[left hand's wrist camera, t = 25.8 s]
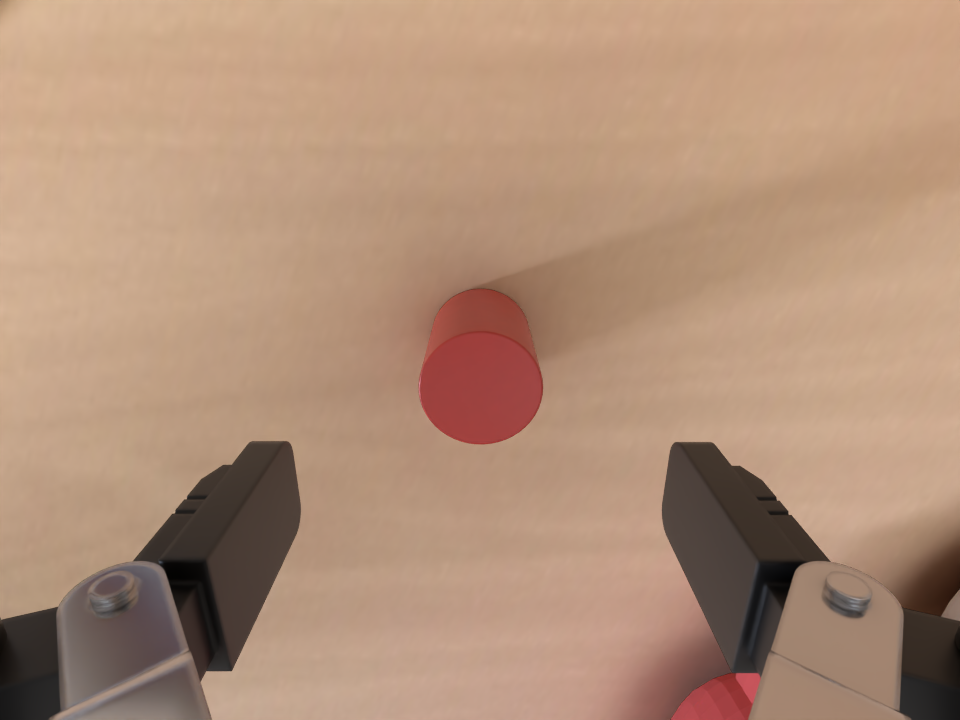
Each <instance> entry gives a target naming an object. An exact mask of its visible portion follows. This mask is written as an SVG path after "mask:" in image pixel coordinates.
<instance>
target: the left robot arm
mask: <svg viewBox="0 0 960 720" xmlns="http://www.w3.org/2000/svg"><path fill="white" fill-rule="evenodd" d="M175 511H176V512H175V514H172V515H171V516H170V517H169V519H168V520H167V521H166V522H165V523H164V525H163V526H162V527H161V528H160V529H159V531H158V532H157V533H156V534H155V535H154V537H153V538H152V539H151V540H150V541H149V543H148V544H147V545H146V546H145V547H144V549H143V550H142V551H141V552H140V553H139V555H138V556H137V557H136V558H135V559H134V561H133V562H126V563H122V564H118V565H115V566H112V567H109V568H106V569H104V570H101V571H99V572H97V573H95V574H93V575H91V576H90V577H88V578H86V579H85V580H83V581H82V582H80V583H79V584H78V585H76V586H75V587H74V588H73V589H72V590H71V591H70V592H69V593H68V594H67V595H66V596H65V597H64V598H63V600H62V601H61V603H60V605H59V607H56V608H51V609H47V610H42V611H38V612H34V613H29V614H25V615H20V616H16V617H12V618H7V619H3V620H1V618H0V720H212V718H211V715H210V712H209V708H208V705H207V702H206V699H205V695H204V692H203V689H202V686H201V680H202V678H203V676H204V674H205V672H206V671H232V670H233V668H234V665H235V663H236V661H237V659H238V657H239V655H240V653H241V651H242V648H243V646H244V644H245V642H246V640H247V638H248V636H249V634H250V631H251V629H252V627H253V625H254V623H255V621H256V619H257V617H258V615H259V612H260V610H261V608H262V606H263V604H264V602H265V600H266V598H267V595H268V593H269V591H270V589H271V587H272V585H273V583H274V581H275V579H276V576H277V574H278V572H279V570H280V568H281V566H282V564H283V562H284V559H285V557H286V555H287V553H288V551H289V549H290V547H291V545H292V542H293V540H294V538H295V536H296V534H297V531H298V528H299V523H300V515H301V504H300V496H299V489H298V483H297V476H296V469H295V462H294V455H293V450H292V446H291V444H290V443H289V442H288V441H252V442H250V443H249V444H248V445H247V446H246V447H245V449H244V450H243V451H242V452H241V454H240V455H239V456H238V458H237V459H236V460H235V461H234V463H233V464H232V465H223V466H221V467H219V468H218V469H216V470H215V471H213V472H212V473H210V474H209V475H207V476H206V477H204V478H203V479H201V480H200V481H199V483H198V484H197V485H196V486H195V487H194V489H193V490H192V491H191V492H190V493H189V495H188V496H187V500H184V501H183V502H182V503H181V504H180V505H179V507H178V508H177V509H176V510H175ZM662 519H663V525H664V530H665V533H666V535H667V538H668V540H669V542H670V544H671V546H672V548H673V550H674V552H675V554H676V557H677V559H678V561H679V563H680V565H681V567H682V569H683V571H684V573H685V575H686V577H687V580H688V582H689V584H690V586H691V588H692V590H693V592H694V594H695V596H696V598H697V600H698V603H699V605H700V607H701V609H702V611H703V613H704V615H705V617H706V619H707V621H708V624H709V626H710V628H711V630H712V632H713V634H714V636H715V638H716V640H717V642H718V644H719V647H720V649H721V651H722V653H723V655H724V657H725V659H726V661H727V663H728V665H729V667H730V670H731V672H732V673H758V674H759V676H760V678H761V679H760V682H759V686H758V689H757V692H756V695H755V699H754V702H753V705H752V708H751V712H750V715H749V718H748V720H960V621H958V620H953V619H949V618H945V617H940V616H936V615H931V614H927V613H923V612H918V611H914V610H909V609H906V608H902V607H901V605H900V603H899V601H898V600H897V598H896V597H895V596H894V595H893V594H892V593H891V592H890V591H889V590H888V589H887V588H886V587H885V586H884V585H882V584H881V583H880V582H878V581H877V580H875V579H874V578H872V577H870V576H869V575H867V574H865V573H863V572H861V571H859V570H856V569H854V568H851V567H848V566H845V565H842V564H838V563H834V562H830V560H829V559H828V558H827V557H826V556H825V554H824V553H823V552H822V551H821V550H820V549H819V547H818V546H817V545H816V544H815V543H814V541H813V540H812V539H811V538H810V537H809V535H808V534H807V533H806V532H805V531H804V530H803V528H802V527H801V526H800V525H799V524H798V522H797V521H796V520H795V519H794V518H793V516H792V515H789V514H788V510H787V509H786V508H785V507H784V506H783V505H782V503H781V502H780V501H777V499H776V496H775V495H774V494H773V493H772V491H771V490H770V489H769V488H768V487H767V486H766V484H765V483H764V482H763V481H762V480H761V479H759V478H758V477H756V476H755V475H753V474H752V473H750V472H748V471H747V470H745V469H744V468H742V467H741V466H731V465H730V463H729V462H728V461H727V459H726V458H725V457H724V456H723V454H722V453H721V452H720V450H719V449H718V448H717V447H716V445H715V444H714V443H712V442H675V443H674V444H673V445H672V447H671V450H670V455H669V462H668V468H667V475H666V482H665V489H664V496H663V502H662Z"/></svg>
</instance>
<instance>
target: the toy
mask: <svg viewBox="0 0 960 720" xmlns="http://www.w3.org/2000/svg"><path fill="white" fill-rule="evenodd" d="M941 617H945V618H949V619H953V620H958V621H960V589H959V591H958V592H957V593H956V594H955V595H954V597H953V598H952V599H951V600H950V602H949V603H948V605H947V607H946V609H945V610H944V612H943V614H942V616H941ZM760 679H761V678H760V676H759V674H758V673H730V674H726V675H723V676H720V677H717V678H713V679H712V680H710V681H708V682H707V683H705V684H703V685H702V686H700V687H698V688H697V689H695V690H693V691H692V692H691V693H690V695H689V696H688V697H687V698H686V699H685V700H684V701H683V702H682V703H681V704H680V706H679V707H678V709H677V711H676V712H675V714H674V715H673V717H672V718H671V720H748V718H749V715H750V712H751V708H752V705H753V702H754V699H755V695H756V692H757V689H758V686H759V682H760Z"/></svg>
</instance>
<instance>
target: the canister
mask: <svg viewBox="0 0 960 720" xmlns="http://www.w3.org/2000/svg"><path fill="white" fill-rule="evenodd" d="M542 395H543V380H542V375H541V371H540V367H539V364H538V360H537V356H536V352H535V349H534V345H533V341H532V337H531V334H530V330H529V326H528V322H527V320H526V317H525V315H524V313H523V311H522V310H521V309H520V307H519V306H518V305H517V304H516V303H515V302H514V301H513V300H512V299H510V298H509V297H507V296H506V295H504V294H502V293H499V292H497V291H493V290H488V289H473V290H468V291H465V292H462V293H459V294H458V295H456V296H454V297H452V298H451V299H450V300H448V301H447V302H446V303H445V304H444V305H443V306H442V308H441V309H440V310H439V312H438V314H437V316H436V318H435V320H434V324H433V328H432V331H431V335H430V339H429V343H428V347H427V351H426V355H425V358H424V362H423V366H422V370H421V374H420V378H419V397H420V401H421V404H422V407H423V409H424V411H425V413H426V415H427V416H428V418H429V419H430V421H431V422H432V423H433V424H434V425H435V426H436V427H437V428H438V429H439V430H440V431H442V432H443V433H445V434H446V435H448V436H450V437H452V438H453V439H456V440H459V441H462V442H466V443H471V444H491V443H496V442H500V441H503V440H506V439H508V438H510V437H512V436H514V435H515V434H517V433H519V432H520V431H521V430H522V429H524V428H525V427H526V426H527V425H528V424H529V423H530V421H531V420H532V419H533V417H534V416H535V414H536V412H537V411H538V409H539V406H540V403H541V400H542Z"/></svg>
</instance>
